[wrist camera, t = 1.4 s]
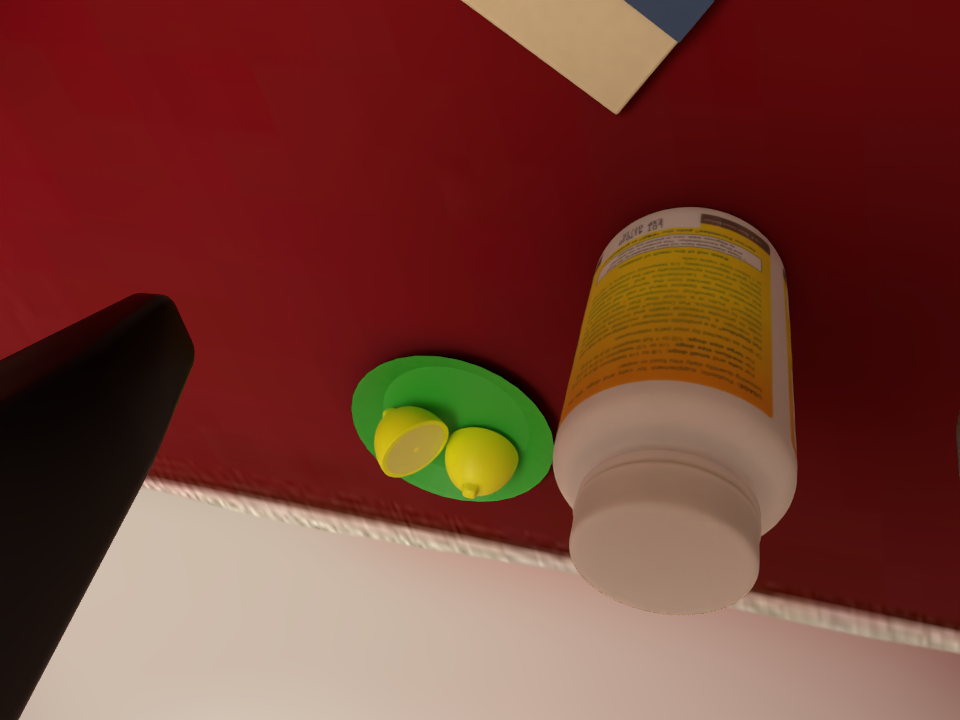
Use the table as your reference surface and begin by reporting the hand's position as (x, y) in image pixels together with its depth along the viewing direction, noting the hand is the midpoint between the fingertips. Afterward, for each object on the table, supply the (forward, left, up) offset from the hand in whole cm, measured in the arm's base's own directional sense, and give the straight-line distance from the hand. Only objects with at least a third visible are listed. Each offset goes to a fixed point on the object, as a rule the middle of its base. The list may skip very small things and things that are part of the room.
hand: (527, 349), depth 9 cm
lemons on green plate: (-5, +17, -14) cm, 23 cm away
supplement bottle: (-7, +6, -14) cm, 17 cm away
